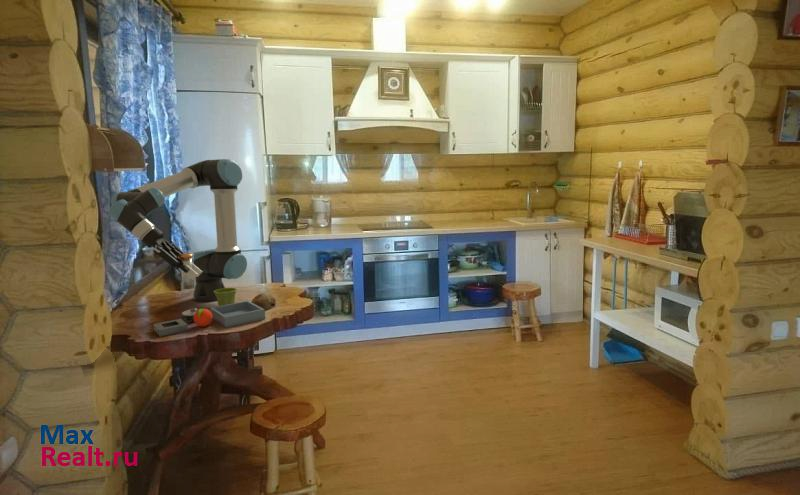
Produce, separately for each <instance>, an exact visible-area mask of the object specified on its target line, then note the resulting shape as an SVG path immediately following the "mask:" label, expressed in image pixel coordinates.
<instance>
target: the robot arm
mask: <svg viewBox="0 0 800 495" xmlns="http://www.w3.org/2000/svg"><path fill="white" fill-rule="evenodd" d="M242 180H243V170H242V168H241V166H240V164H238V163H237V162H236V161H235V160H233V159H225V158H223V159H220V158H219V159H206V160H202V161H199V162H196V163H193V164H191V165H188V166H187V167H184V168H182V169H181V171H179V172H177V173H174V174H172V175H169V176H166V177H162V178H161V179H158V180H154V181H152V182H149V183H147V184H144V185H141V186H138V187H136V188H132V189H131V190H127V191H125V192H124V191H120V192H115V193H114V194H113V195H112V197H111V200H110V202H111V206H110V208H109V210H108V214H109V216H111V218H112V219H113V220H115V221H116V222H117V223H118V224H120V226H122V227H123V228H124V229H126V230H127V231H128V232H129V233H131V234H132V236H133V237H134V239H135V238H136V239H137V240H139V241H141V243H142V244H143V245H145V246H146V247H147V248H149V249H151V248H154V249H153V250H152V252H153V253H154V254H156V255H158V256H159V257H160V258H161V259H163V260H164V261H165V262H166V263H168V264H169V265H170V266H171V267H172V268H173V269H175V270H177V271H178V270H179V269H180V271H181V270H182V271H183V272H184V273H185V274H187V275H188V276H189V277H190V278H191V279H193V280H194V279H195V280H194V281H195V284H194V288H193V294H192V297H193V301H195V302H213V301H217V298H216V295H215V293H214V291H215V290H217V289H221V288H226V287H225V284H224V282H223V279H227V280H236V279H239V278H241V277H242V276H243V275H244V273H245V272H246V270H247V268H248V267H247V266H248V261H247V257H245V255H244V254H242V248H241V247H240V246H238V236H237V219H236V202H235V193H236V192H237V191H238V190H239V189H238V185H239V184H240V183H241V181H242ZM205 186H207V187H208V186H209V191H211V192H212V193H213V195H214V197H213V199H214V211H215V212H214V214H215V226H216V227H215V229H216V230H215V231H216V244H217V246H216V248H212V249H211V248H210V249H205V250H204V249H203V250H201V251H200V250H198V251H196V252H194V253H193V257H192V258H193V259H192V268H193V269H192V268H190V267H189V266H188V265H187V264H186V263H184V264H183V262H182V261H181V260H180V258H178V255H179V254H185V253H186V252H184V251H183V250H182V249H181V248H180V247H179V246H177V245H176V243H175V242H174V241H172V240H170V241H168V240H167V239H166V238H163V237H164V235H165V234H164V232H163V231H162V230H161V229H159V228H158V227H156V225H155V224H154V223H153V222H151V220H149V219H147V216H148V215H150V214H151V213H152V212H154V211H155V210H157V209H159V208H160V207H161V206H162V205H164V204H165V201H166V198H167V197H169V196H172V195H174V194H176V193H179V192H181V191H183V190H187V189H189V188H190V189H195V188H198V187H205Z"/></svg>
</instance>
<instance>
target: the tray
mask: <svg viewBox="0 0 800 495" xmlns="http://www.w3.org/2000/svg"><path fill="white" fill-rule="evenodd" d="M209 309H210V310H209V311H210V312H211V313H212V316H213V319H212V320H213V321H216V322H217V323H219V324H220V325H221V326H223V327H224V328H231V327H235V326H238V325H239V326H240V325H244V324H249V323H253V322H256V321H257V322H258V321H262V320H265V319H266V311H265V309H263V308H261V307H259V306H257V305H255V304H253V303H252V301H249V300H244V301H238V302H235V303H233V304H228V305H222V306H218V305H217V306H212V307H210V308H209Z"/></svg>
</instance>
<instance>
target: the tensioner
mask: <svg viewBox="0 0 800 495" xmlns="http://www.w3.org/2000/svg"><path fill="white" fill-rule="evenodd" d="M199 309H201V307H200V308H197V307H192V308H190V309H186V310H184V311H182V312H181V317H182V318H183V319H181V318H178V319H177V318H176V319H172V320H167V321H162V322H158V323H156V322H155V323H153V331H154V332H155V333H156V334H157V335H158V336H159V337H160V338H161V337H167V336H170V335H174V334H181V333H184V332H185V333H186V332H188V331H189V325H188V324H190V323H192V322H194V314H195V313H196V311H198V310H199Z"/></svg>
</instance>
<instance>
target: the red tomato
mask: <svg viewBox="0 0 800 495" xmlns="http://www.w3.org/2000/svg"><path fill="white" fill-rule="evenodd" d="M213 320H214V319H213V316H212V313H211V312H210V310H209V309H207V308H203V307H202V308H200V309H199V310H198V311H196V313H195V314H194V321H193V322H194V323H195V325H197V326H198V327H207V326H209V325H210V324H211V322H213Z"/></svg>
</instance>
